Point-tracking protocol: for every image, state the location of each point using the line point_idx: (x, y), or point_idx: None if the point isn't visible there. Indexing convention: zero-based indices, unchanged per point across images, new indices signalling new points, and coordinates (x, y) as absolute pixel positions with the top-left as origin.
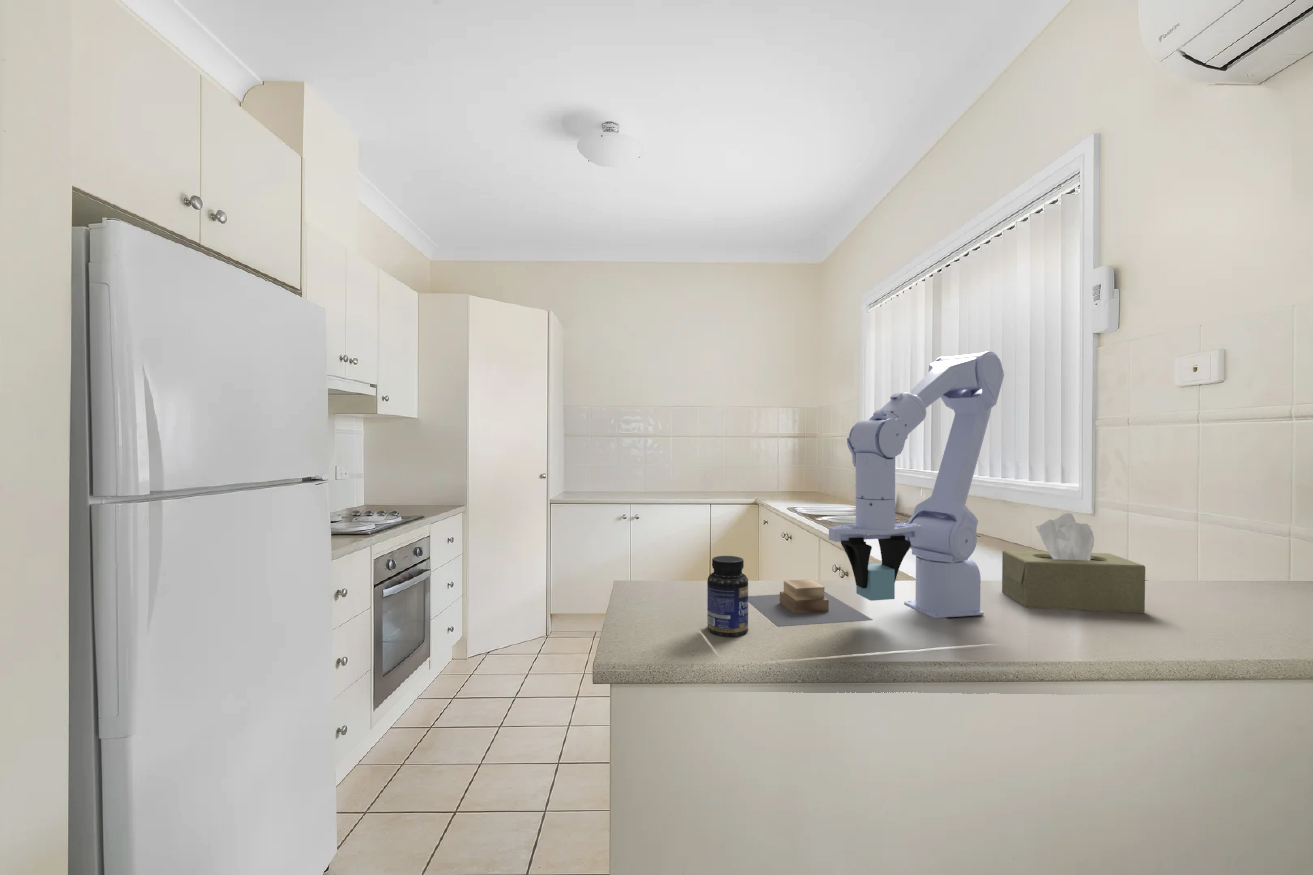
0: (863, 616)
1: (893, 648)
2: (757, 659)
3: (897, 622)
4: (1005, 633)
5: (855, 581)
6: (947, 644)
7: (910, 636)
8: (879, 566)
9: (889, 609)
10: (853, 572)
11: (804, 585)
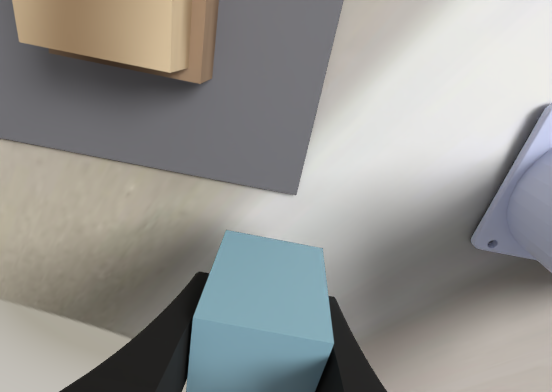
0: (290, 164)
1: None
2: None
3: (356, 220)
4: (508, 348)
5: (190, 281)
6: None
7: None
8: (283, 374)
9: (448, 120)
10: (172, 303)
11: (81, 2)
